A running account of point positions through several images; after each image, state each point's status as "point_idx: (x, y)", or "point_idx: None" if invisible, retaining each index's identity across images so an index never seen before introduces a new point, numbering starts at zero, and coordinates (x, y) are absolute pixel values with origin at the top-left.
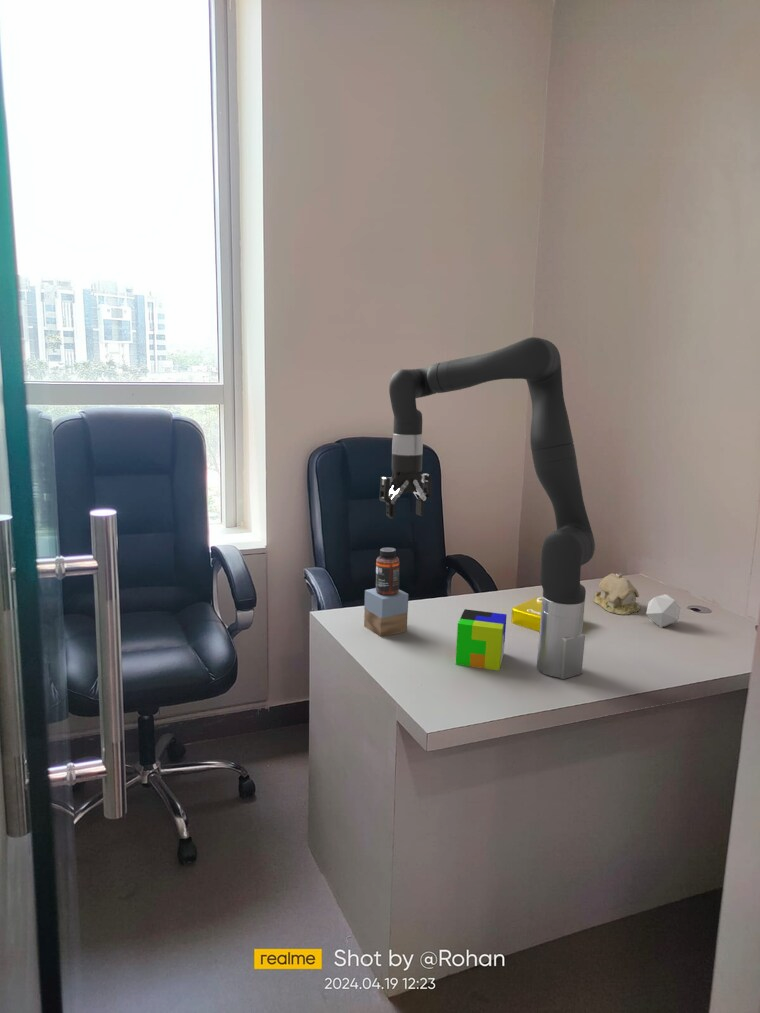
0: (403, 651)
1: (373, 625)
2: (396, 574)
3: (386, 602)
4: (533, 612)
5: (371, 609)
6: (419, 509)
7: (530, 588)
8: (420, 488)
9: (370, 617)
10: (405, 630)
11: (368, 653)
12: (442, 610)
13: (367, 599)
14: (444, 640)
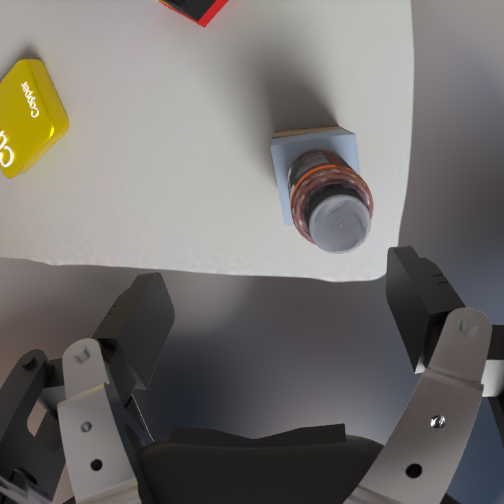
0: (326, 46)
1: None
2: (312, 161)
3: (340, 134)
4: (34, 101)
5: None
6: (150, 309)
7: (14, 257)
8: (71, 439)
9: None
10: (277, 132)
11: (391, 67)
12: (157, 212)
13: None
14: (220, 66)
